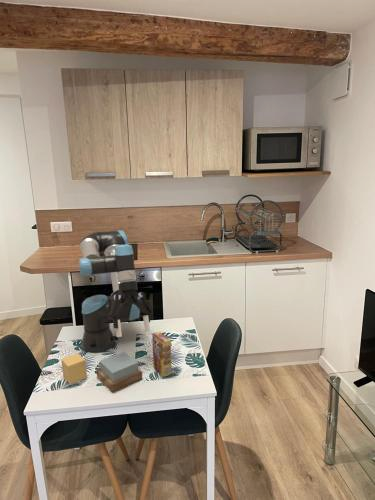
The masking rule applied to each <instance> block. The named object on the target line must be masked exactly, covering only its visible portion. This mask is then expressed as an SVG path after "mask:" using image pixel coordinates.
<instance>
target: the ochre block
mask: <svg viewBox="0 0 375 500" xmlns="http://www.w3.org/2000/svg"><path fill="white" fill-rule="evenodd" d="M60 360H61V368H62V377H63V379H65V381H67V383H68V384H69V385H73V384H75V383H78V382H80V381H82V380H84V379H87V378H88V375H87V374H88V373H87V366H86V359H85V358H84V357H83V356H82V355H81V354H80V353H74V354H72V355H69V356H66V357H63V358H61V359H60Z"/></svg>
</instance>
